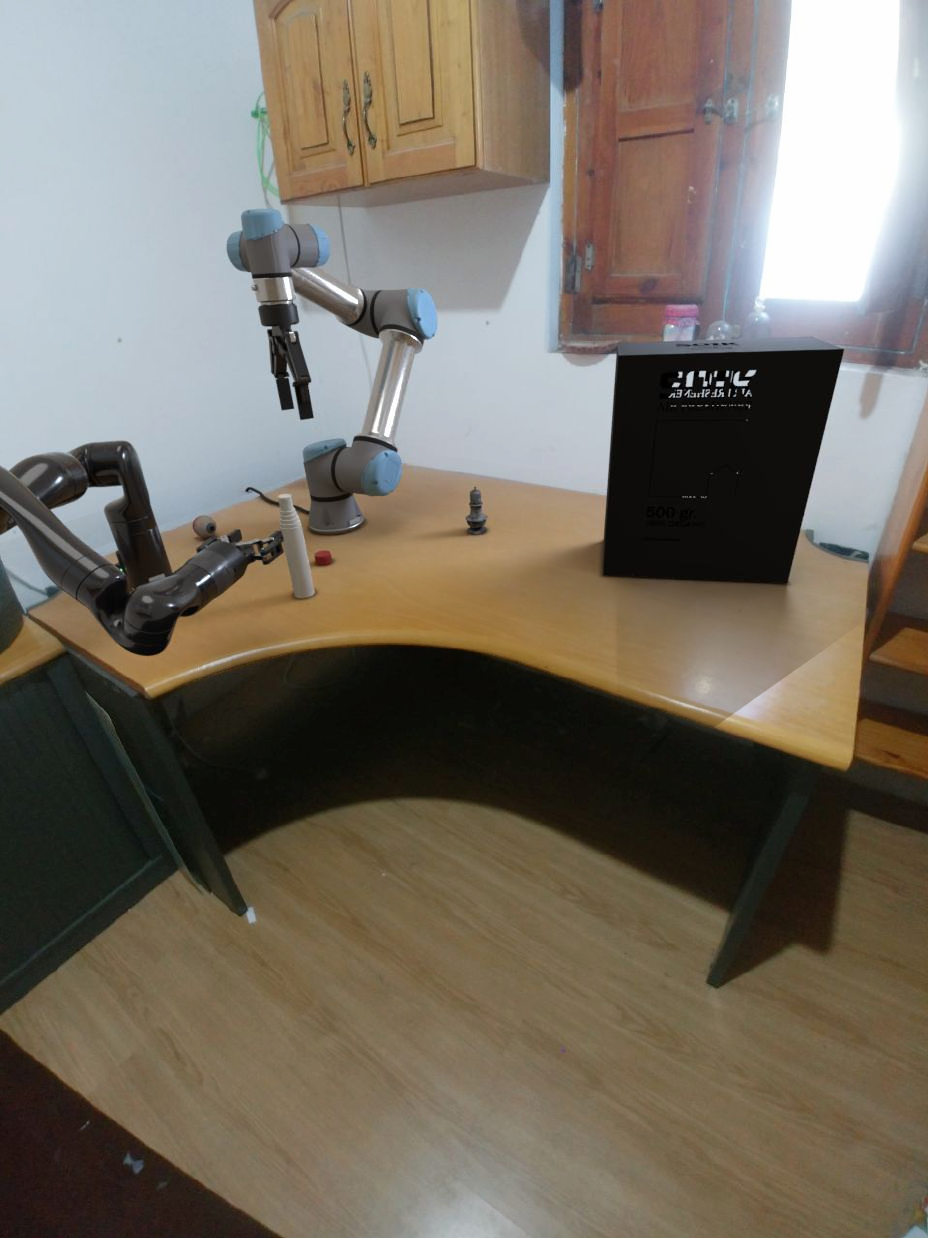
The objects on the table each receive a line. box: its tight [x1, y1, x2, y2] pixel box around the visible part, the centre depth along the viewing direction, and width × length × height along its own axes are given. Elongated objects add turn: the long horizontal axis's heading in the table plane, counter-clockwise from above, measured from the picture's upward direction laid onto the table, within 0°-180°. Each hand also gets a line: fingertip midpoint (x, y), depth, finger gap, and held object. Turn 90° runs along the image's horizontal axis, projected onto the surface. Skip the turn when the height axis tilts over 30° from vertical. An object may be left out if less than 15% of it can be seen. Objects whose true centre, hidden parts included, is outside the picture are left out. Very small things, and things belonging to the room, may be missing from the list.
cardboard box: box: [602, 336, 845, 585], centre depth 127 cm, size 38×20×45 cm, turn 78°
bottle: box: [277, 493, 316, 599], centre depth 128 cm, size 4×4×22 cm
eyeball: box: [192, 514, 217, 538], centre depth 165 cm, size 6×6×6 cm
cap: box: [314, 549, 333, 567], centre depth 147 cm, size 4×4×2 cm
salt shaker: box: [464, 486, 489, 535], centre depth 157 cm, size 6×6×12 cm
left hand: (260, 534), depth 114 cm, fingers open, 8 cm apart
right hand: (297, 414), depth 130 cm, fingers open, 13 cm apart
